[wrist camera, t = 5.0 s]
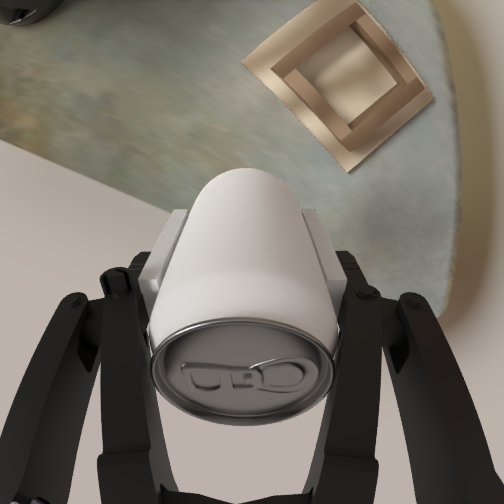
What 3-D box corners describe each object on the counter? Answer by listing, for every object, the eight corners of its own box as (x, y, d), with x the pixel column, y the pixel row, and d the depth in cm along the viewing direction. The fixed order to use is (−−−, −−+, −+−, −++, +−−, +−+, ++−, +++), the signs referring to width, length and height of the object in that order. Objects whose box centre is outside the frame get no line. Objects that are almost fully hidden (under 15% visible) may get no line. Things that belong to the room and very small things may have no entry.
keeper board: (240, 62, 26) (239, 59, 23) (338, -15, 21) (347, -23, 18) (345, 170, 32) (354, 179, 29) (430, 97, 27) (446, 100, 24)
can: (298, 258, 20) (334, 424, 10) (201, 264, 21) (168, 429, 10) (298, 162, 17) (368, 296, 7) (186, 170, 17) (103, 308, 7)
